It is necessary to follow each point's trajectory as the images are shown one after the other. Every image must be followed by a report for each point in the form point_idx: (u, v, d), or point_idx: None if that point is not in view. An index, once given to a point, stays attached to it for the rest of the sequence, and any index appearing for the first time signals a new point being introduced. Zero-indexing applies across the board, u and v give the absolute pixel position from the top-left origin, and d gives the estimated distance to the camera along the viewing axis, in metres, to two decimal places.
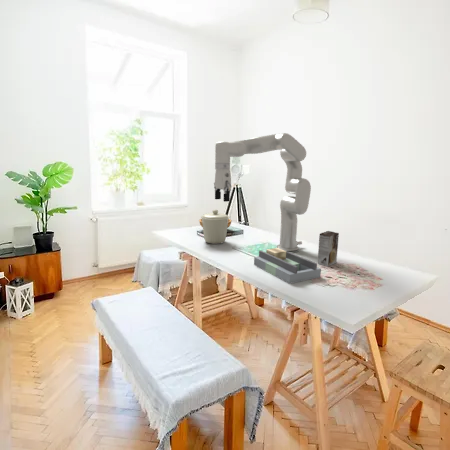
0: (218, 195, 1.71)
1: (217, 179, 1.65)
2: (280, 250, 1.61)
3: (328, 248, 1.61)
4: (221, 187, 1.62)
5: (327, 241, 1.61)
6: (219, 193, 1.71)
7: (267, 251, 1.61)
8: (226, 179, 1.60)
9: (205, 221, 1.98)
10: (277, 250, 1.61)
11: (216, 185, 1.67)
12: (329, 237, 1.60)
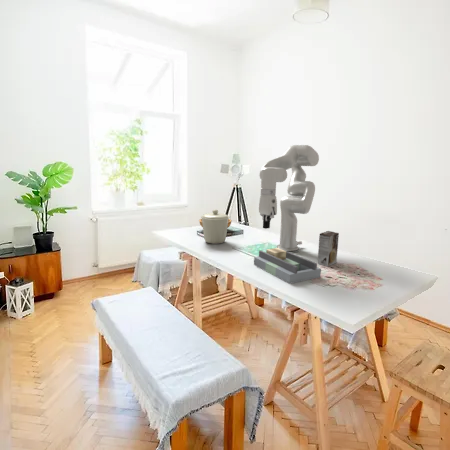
0: None
1: (262, 205, 1.63)
2: (280, 250, 1.61)
3: (328, 248, 1.61)
4: (267, 213, 1.61)
5: (327, 241, 1.61)
6: None
7: (267, 251, 1.61)
8: (272, 205, 1.59)
9: (205, 221, 1.98)
10: (277, 250, 1.61)
11: (261, 210, 1.66)
12: (329, 237, 1.60)
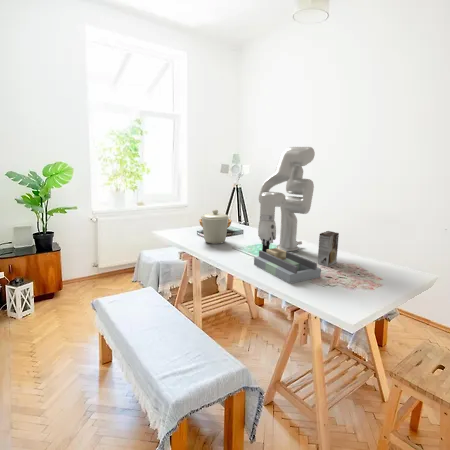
0: None
1: (261, 229, 1.66)
2: (280, 250, 1.61)
3: (328, 248, 1.61)
4: (266, 238, 1.64)
5: (327, 241, 1.61)
6: None
7: (267, 251, 1.61)
8: (271, 231, 1.62)
9: (205, 221, 1.98)
10: (277, 250, 1.61)
11: (260, 235, 1.68)
12: (329, 237, 1.60)
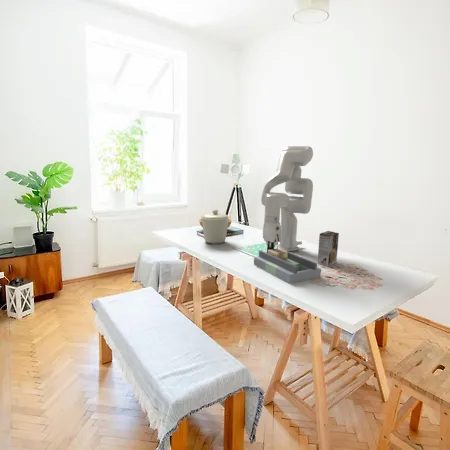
0: None
1: (266, 231, 1.63)
2: (281, 251, 1.60)
3: (328, 248, 1.61)
4: (271, 240, 1.60)
5: (327, 241, 1.61)
6: None
7: (268, 251, 1.61)
8: (276, 232, 1.58)
9: (205, 221, 1.98)
10: (278, 250, 1.60)
11: (264, 237, 1.65)
12: (329, 237, 1.60)
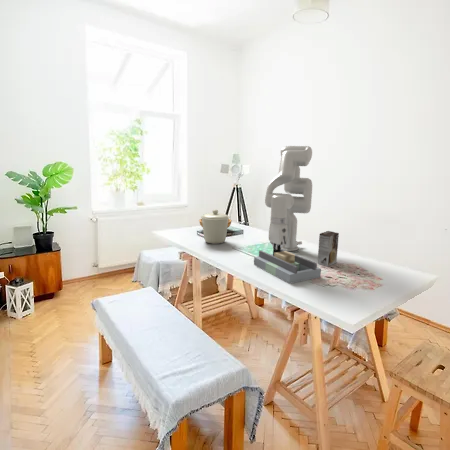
0: None
1: (272, 233, 1.58)
2: (288, 253, 1.55)
3: (328, 248, 1.61)
4: (277, 242, 1.56)
5: (327, 241, 1.61)
6: None
7: (275, 254, 1.56)
8: (283, 235, 1.54)
9: (205, 221, 1.98)
10: (285, 253, 1.55)
11: (270, 239, 1.60)
12: (329, 237, 1.60)
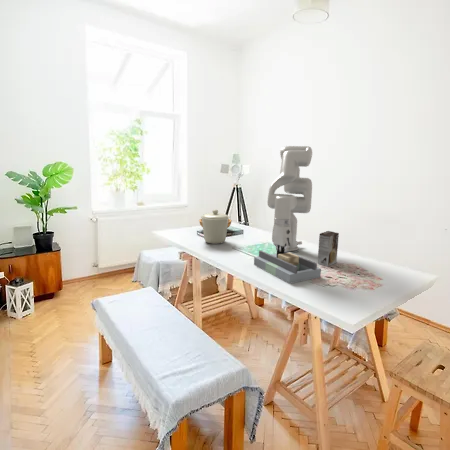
0: None
1: (276, 235, 1.56)
2: (292, 255, 1.53)
3: (328, 248, 1.61)
4: (281, 244, 1.53)
5: (327, 241, 1.61)
6: None
7: (279, 256, 1.54)
8: (287, 236, 1.51)
9: (205, 221, 1.98)
10: (289, 255, 1.53)
11: (274, 240, 1.58)
12: (329, 237, 1.60)
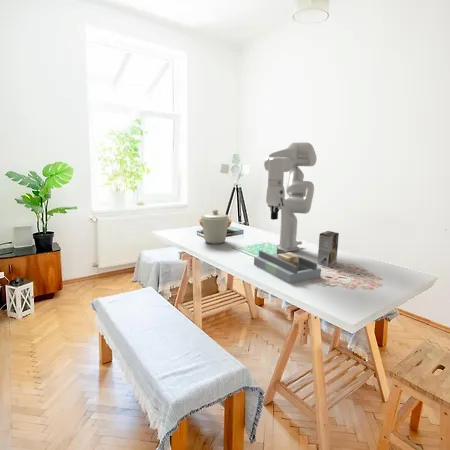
0: None
1: (270, 196, 1.61)
2: (292, 255, 1.53)
3: (328, 248, 1.61)
4: (275, 204, 1.59)
5: (327, 241, 1.61)
6: None
7: (279, 256, 1.54)
8: (280, 196, 1.57)
9: (205, 221, 1.98)
10: (289, 255, 1.53)
11: (268, 201, 1.63)
12: (329, 237, 1.60)
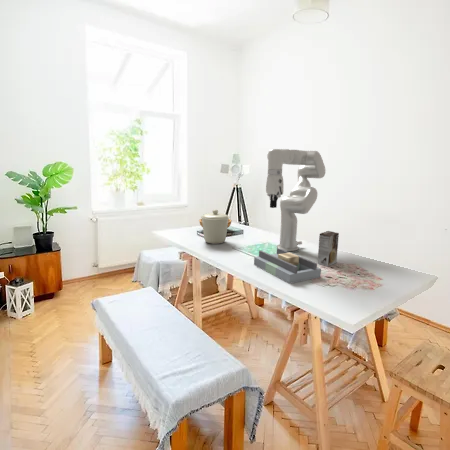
0: None
1: (269, 185, 1.71)
2: (292, 255, 1.53)
3: (328, 248, 1.61)
4: (274, 193, 1.68)
5: (327, 241, 1.61)
6: None
7: (279, 256, 1.54)
8: (279, 185, 1.67)
9: (205, 221, 1.98)
10: (289, 255, 1.53)
11: (268, 191, 1.73)
12: (329, 237, 1.60)
